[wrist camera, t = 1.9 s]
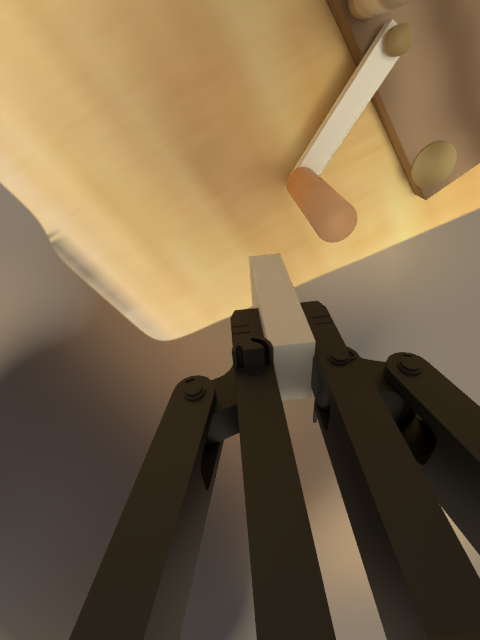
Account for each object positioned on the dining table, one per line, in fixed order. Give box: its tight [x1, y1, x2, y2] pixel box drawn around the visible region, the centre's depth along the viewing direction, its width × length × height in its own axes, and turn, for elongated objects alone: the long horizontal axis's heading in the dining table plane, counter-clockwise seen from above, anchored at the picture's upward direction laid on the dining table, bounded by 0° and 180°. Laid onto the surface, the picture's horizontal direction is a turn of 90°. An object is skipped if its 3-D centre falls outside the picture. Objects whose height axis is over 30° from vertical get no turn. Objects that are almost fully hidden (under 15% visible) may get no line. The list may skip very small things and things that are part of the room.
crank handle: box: [287, 19, 400, 242], centre depth 20 cm, size 2×12×10 cm, turn 149°
